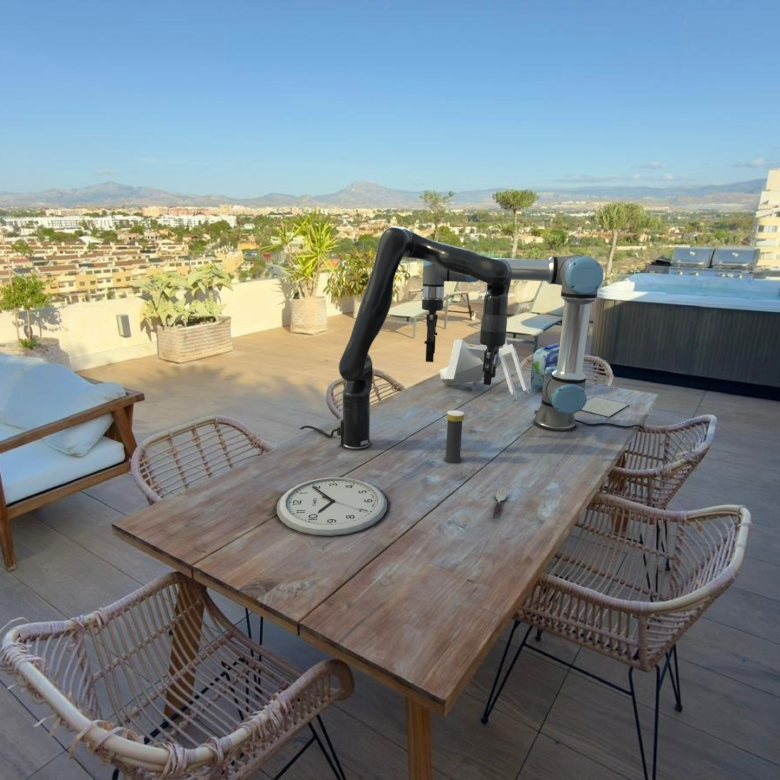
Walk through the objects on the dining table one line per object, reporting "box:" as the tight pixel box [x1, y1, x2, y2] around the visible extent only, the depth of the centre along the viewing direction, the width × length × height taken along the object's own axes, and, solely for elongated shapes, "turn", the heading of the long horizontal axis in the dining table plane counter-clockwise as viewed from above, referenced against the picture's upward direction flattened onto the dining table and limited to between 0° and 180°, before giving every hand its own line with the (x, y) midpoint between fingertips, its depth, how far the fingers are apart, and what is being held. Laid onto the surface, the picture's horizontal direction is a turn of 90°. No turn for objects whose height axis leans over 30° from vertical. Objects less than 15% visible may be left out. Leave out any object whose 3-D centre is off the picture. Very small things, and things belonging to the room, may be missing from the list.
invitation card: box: [580, 396, 629, 418], centre depth 226 cm, size 21×1×15 cm
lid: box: [446, 409, 465, 422], centre depth 167 cm, size 5×5×2 cm
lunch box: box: [530, 343, 560, 391], centre depth 249 cm, size 26×11×21 cm, turn 134°
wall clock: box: [276, 476, 388, 537], centre depth 142 cm, size 30×2×30 cm
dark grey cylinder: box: [445, 419, 463, 464], centre depth 170 cm, size 5×5×16 cm
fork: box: [492, 486, 508, 519], centre depth 143 cm, size 3×16×2 cm, turn 160°
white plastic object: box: [438, 338, 531, 400], centre depth 245 cm, size 37×45×31 cm
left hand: (489, 380), depth 160 cm, fingers open, 8 cm apart
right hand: (430, 357), depth 190 cm, fingers open, 13 cm apart
